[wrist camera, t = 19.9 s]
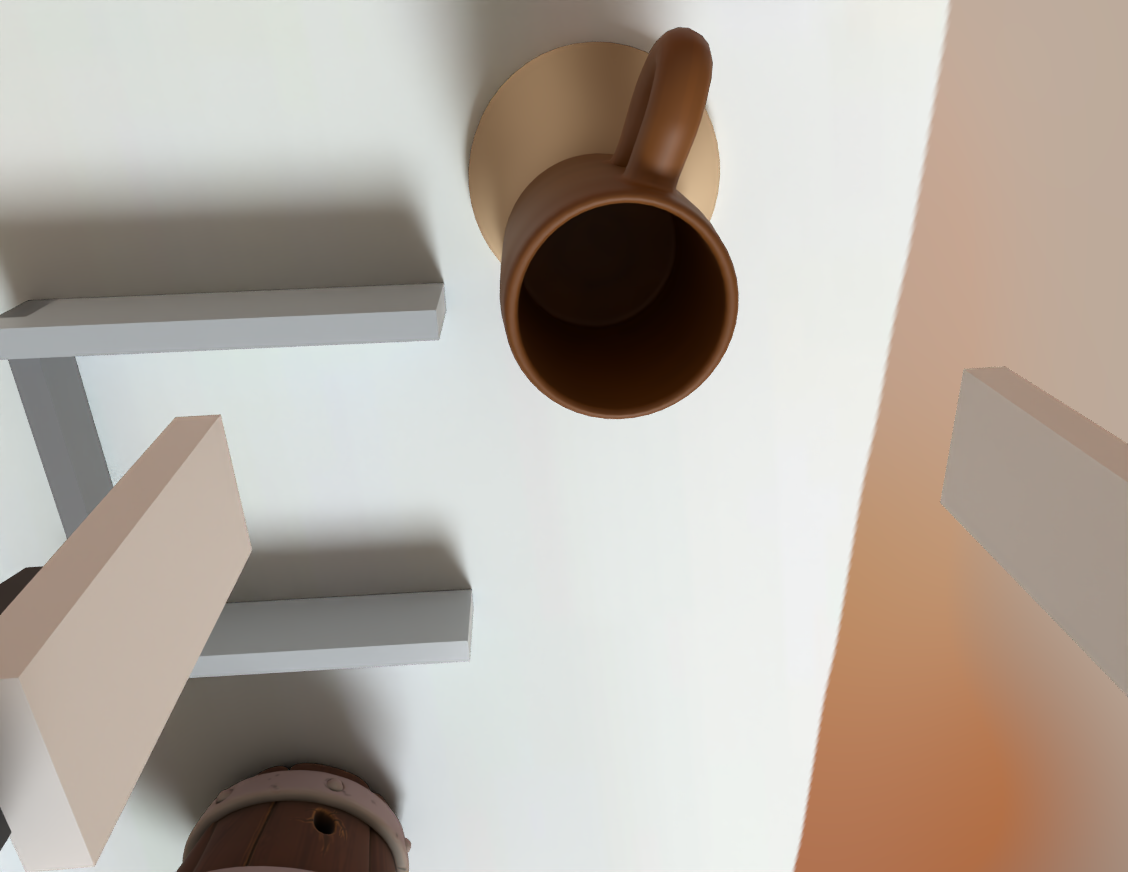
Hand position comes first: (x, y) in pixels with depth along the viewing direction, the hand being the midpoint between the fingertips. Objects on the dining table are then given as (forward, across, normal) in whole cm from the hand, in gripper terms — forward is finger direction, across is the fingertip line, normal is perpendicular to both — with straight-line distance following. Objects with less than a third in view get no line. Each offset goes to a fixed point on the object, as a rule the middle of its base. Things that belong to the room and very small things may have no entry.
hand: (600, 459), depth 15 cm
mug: (+21, +3, +1) cm, 21 cm away
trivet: (+22, +2, +2) cm, 22 cm away
